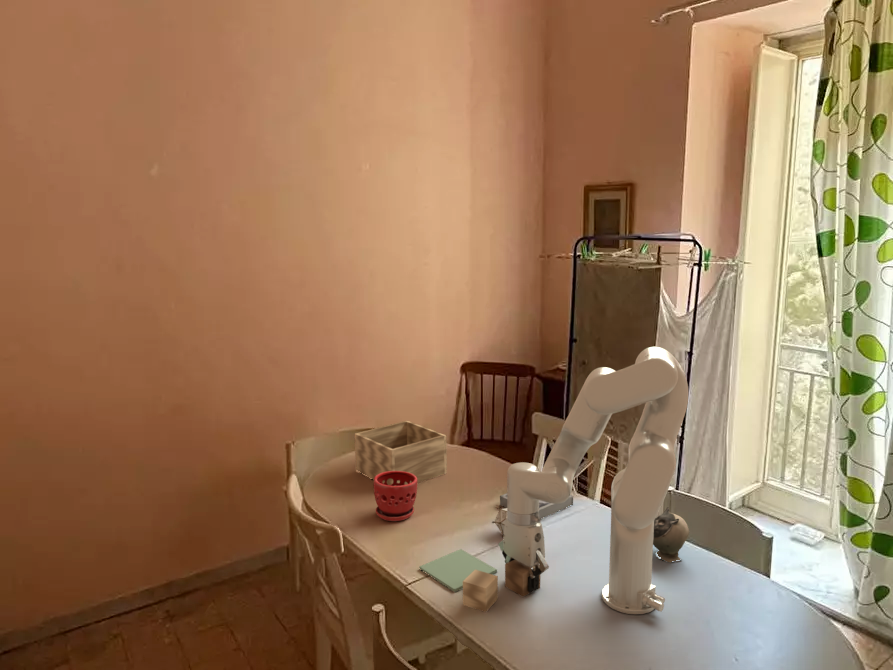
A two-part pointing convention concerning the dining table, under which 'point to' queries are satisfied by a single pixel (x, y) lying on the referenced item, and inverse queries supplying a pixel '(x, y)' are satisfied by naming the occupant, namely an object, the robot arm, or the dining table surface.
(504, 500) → the slate tray
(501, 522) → the game die
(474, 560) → the mat
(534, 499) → the robot arm
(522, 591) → the walnut cube
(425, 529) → the dining table surface
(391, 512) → the plant pot
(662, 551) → the brown round clay figure
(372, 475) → the wooden crate
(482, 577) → the oak cube
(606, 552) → the dining table surface
